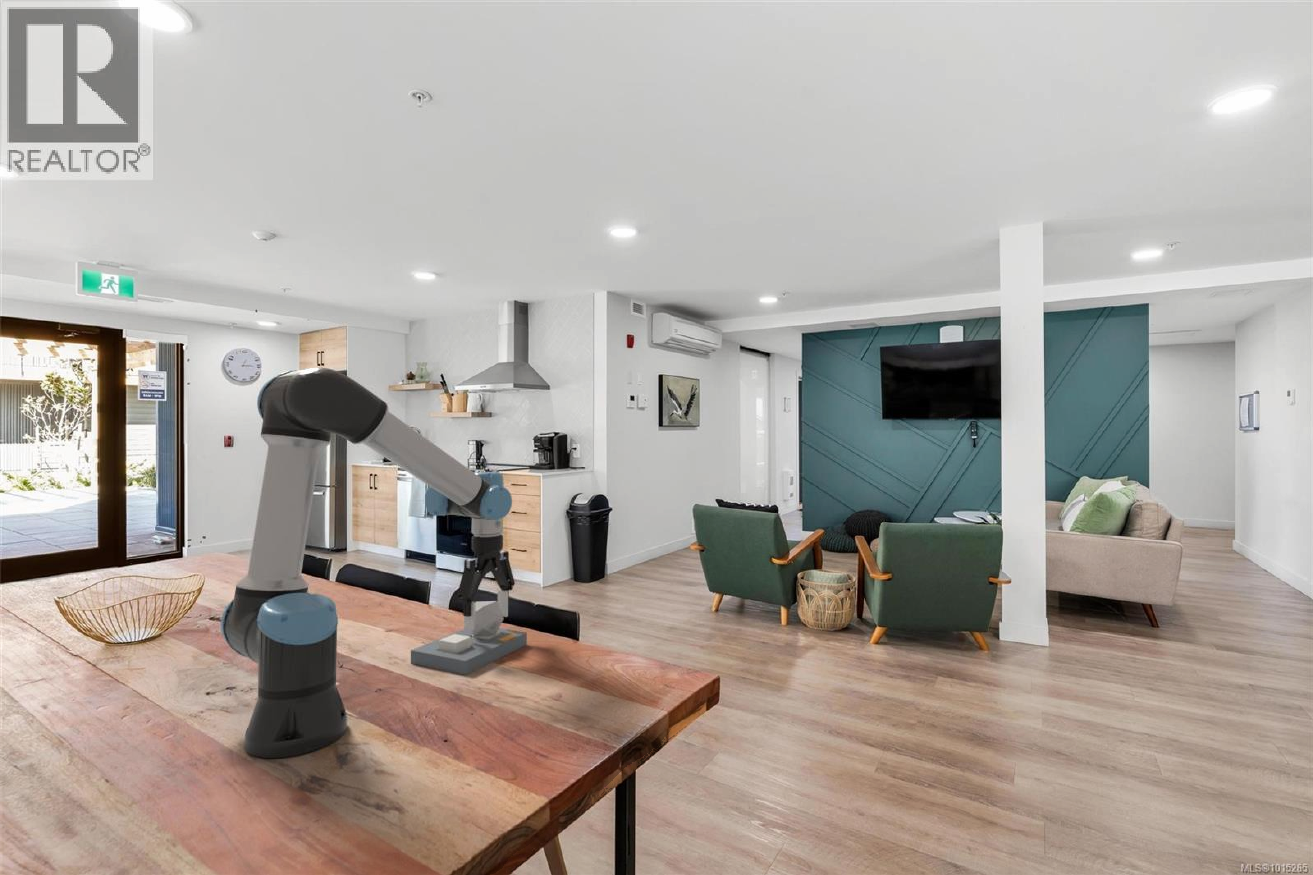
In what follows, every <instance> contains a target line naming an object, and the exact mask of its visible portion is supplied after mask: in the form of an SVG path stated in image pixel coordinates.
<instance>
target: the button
mask: <svg viewBox="0 0 1313 875" xmlns="http://www.w3.org/2000/svg"><path fill="white" fill-rule="evenodd" d="M452 634H453V633H452ZM450 635H451V634H450ZM447 636H448V635H447ZM445 637H446V636H445ZM442 638H443V637H442ZM440 639H441V638H440ZM468 648H471V637H469V636H463V635H457V634H453V635H451V636H448V637H446V638H443V639H441V640H439V651H443V652H448V653H453V654H457V653H459V652H462V651H464V650H466V649H468Z"/></svg>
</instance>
